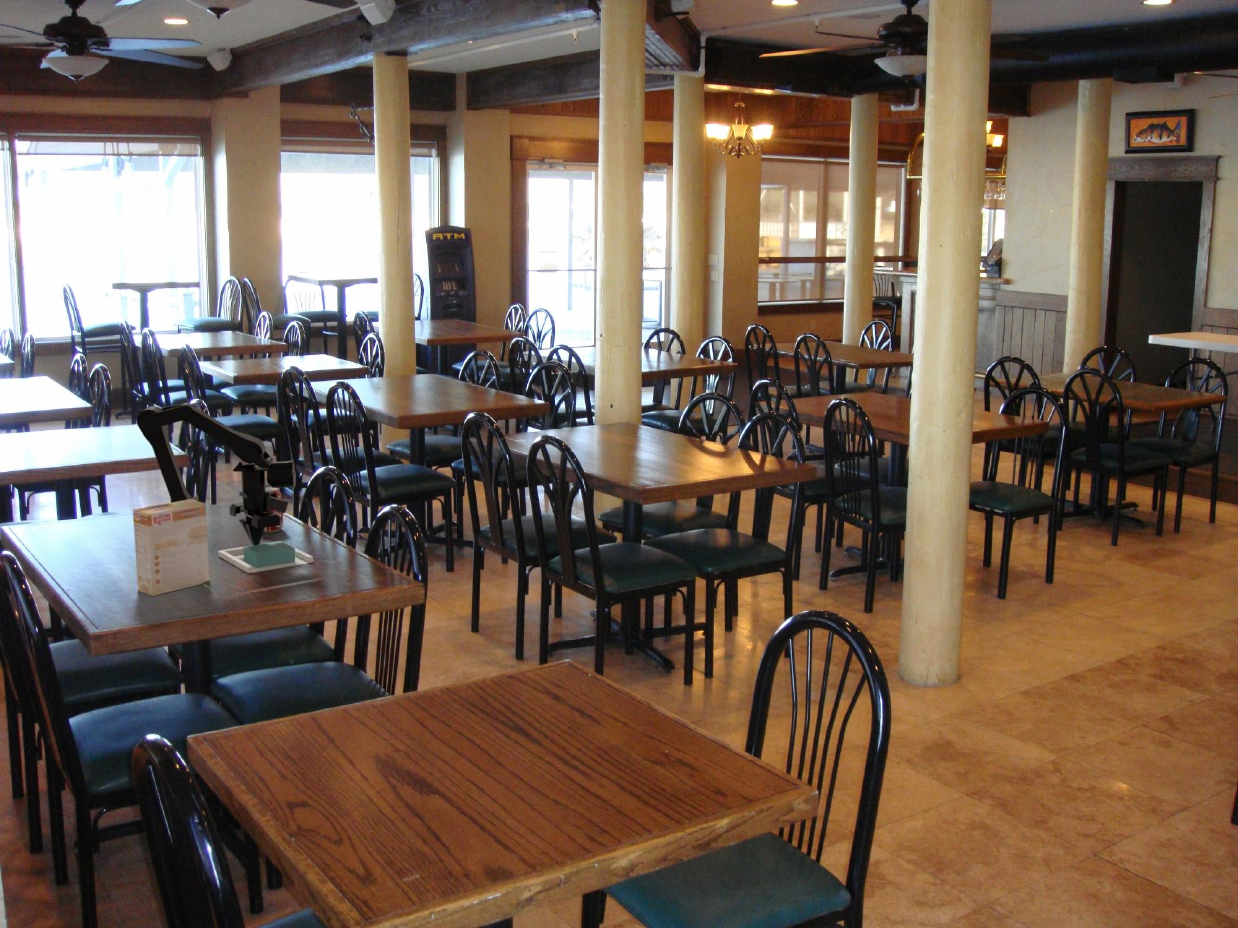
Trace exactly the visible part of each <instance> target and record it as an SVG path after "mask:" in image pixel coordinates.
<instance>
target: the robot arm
mask: <svg viewBox="0 0 1238 928" xmlns="http://www.w3.org/2000/svg"><path fill="white" fill-rule="evenodd" d="M182 421H183V422H185V423H188V424H189V425H191V426H193V427H194V428H196V429H198V430H200V431H201V432H203V433H205V434H207V435H208V436H209V437H212V438H213V439H215V440H217V441H219V442H220V443H222V444H224V445H225V446H226V447H227V448H228V449H229V450H230V451H231V452H232V453H233V454H234V455H235V456H236V457H238V458H239V461H238V463H237V464H236V466H234V467H233V469H232V471H233V472H241V473H240V475H241V490H240V491H239V492H238V493H239V496H240V497H241V498H242V502H237V503H232V504H231V505H230V507H229V516H232V517H237V516H238V515H239V514H240V515H241V519H238V522H239V524H240V525H241V526H242V528H243V530H244V531H245V534H246V535H247V537H248V539H249V542H250V543H251V546H252V545H253V546H254V545H259V544H261V540H262V536H263V534H264V532H263V531H264V528H266V527H273V526H280V525H281V517H279V516H278V515H277V514H275V513H273V512H271V510H275V511H279V512H281V513H283V514H286V512H287V509H288V506H289V501H288V500H286V499H283V498H282V499H280V498H278V496H277V494H276V493H273V492H267V491H266V489H265V487H266V483H267V484H268V485H269V486H272V488H279V489H281V488H285V489H287V488H288V489H289V488H296V483H297V481H296V478H297V476H296V475H297V474H296V469H295V464H294V463H295V462H294V460H286V461H275V460H274V458H272V456H271V455H270V454H269V453H268V452H267V450H266V446H265V442H263V440H261V439H260V438H258V437H256V436H253V435H250V434H248V433H244V432H240V431H238V430H234V428H231V427H229V426H228V425H227V424H224V423H222V422H221V421H219V420H218V419H216V418H214V417H212V416H211V415H209V414H207V413H206V412H204V411H202V410H200V409H199V408H198V407H196V406H195V405H194V404H192V403H190V402H185V403H182V404H178V405H176V404H175V405H169V406H165V407H159V406H157V405H152V406H151V405H150V406H148V407H146V408H144V409H143V410H142V411H141V412H139V413H138V415H137V417H136V425H137V427H138V429H139V430H140V432H141V433H142V435H143V437H144V438H145V440H146V441H147V442H148V443H149V445H150V446H151V448H152V450H153V453H154V456H155V458H156V459H155V460H156V462H157V464H158V467H159V471H160V473H161V475H162V478H163V481H164V484H165V486H166V488H167V492H168V494H169V499H170V503H172V502H178V501H183V500H188V499H193V500H196V501H198V502H200V501H199V497H198V495H195V496H193V497H192V496H191V494H190V493H189V492H188V490H187V487H186V484H185V481H184V479H183V476H182V473H181V470H180V468H179V464H178V462H177V459H176V456H175V454H174V451H173V448H172V445H171V442H170V438H169V437H170V436H169V425H170V424H174V423H175V424H176V423H179V422H182ZM264 512H269V513H264Z"/></svg>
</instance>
